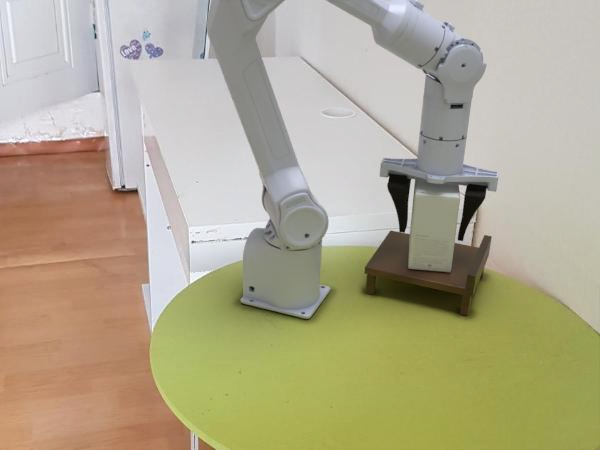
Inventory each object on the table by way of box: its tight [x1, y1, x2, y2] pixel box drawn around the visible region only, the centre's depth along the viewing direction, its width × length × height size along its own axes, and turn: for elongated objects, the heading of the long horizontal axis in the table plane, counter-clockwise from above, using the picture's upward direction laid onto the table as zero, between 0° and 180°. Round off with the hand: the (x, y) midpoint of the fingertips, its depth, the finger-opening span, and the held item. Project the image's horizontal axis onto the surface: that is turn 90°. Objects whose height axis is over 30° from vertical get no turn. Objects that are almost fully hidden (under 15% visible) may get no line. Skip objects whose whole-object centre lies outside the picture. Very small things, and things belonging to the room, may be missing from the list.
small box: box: [408, 179, 461, 272], centre depth 97 cm, size 8×6×10 cm
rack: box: [363, 230, 493, 317], centre depth 100 cm, size 14×12×6 cm
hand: (431, 233), depth 98 cm, fingers open, 7 cm apart
